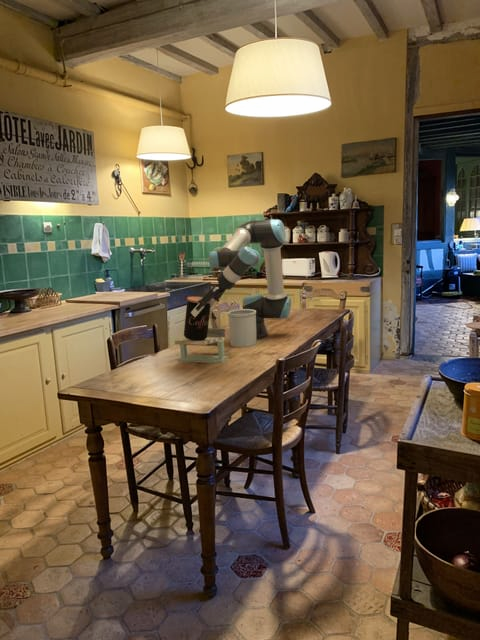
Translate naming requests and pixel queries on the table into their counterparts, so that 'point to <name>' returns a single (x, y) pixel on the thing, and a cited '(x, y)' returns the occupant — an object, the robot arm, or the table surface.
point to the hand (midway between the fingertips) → (199, 311)
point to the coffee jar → (196, 320)
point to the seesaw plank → (211, 339)
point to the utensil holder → (242, 327)
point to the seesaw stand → (203, 358)
